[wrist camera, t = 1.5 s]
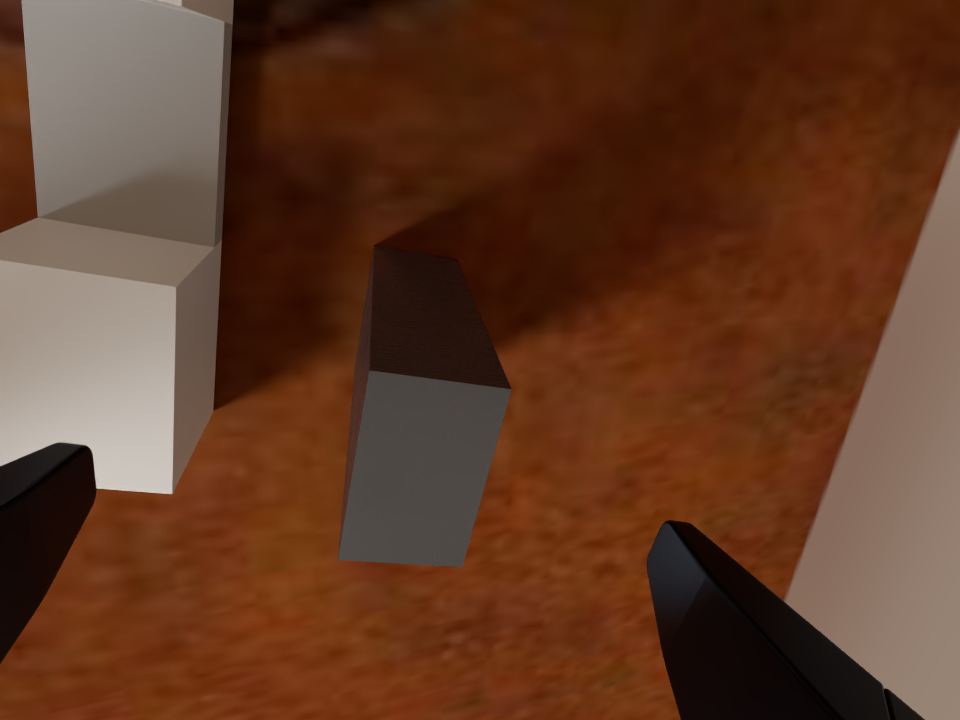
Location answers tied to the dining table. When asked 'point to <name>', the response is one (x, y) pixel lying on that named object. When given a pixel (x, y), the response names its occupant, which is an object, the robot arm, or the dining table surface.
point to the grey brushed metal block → (419, 415)
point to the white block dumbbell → (118, 236)
